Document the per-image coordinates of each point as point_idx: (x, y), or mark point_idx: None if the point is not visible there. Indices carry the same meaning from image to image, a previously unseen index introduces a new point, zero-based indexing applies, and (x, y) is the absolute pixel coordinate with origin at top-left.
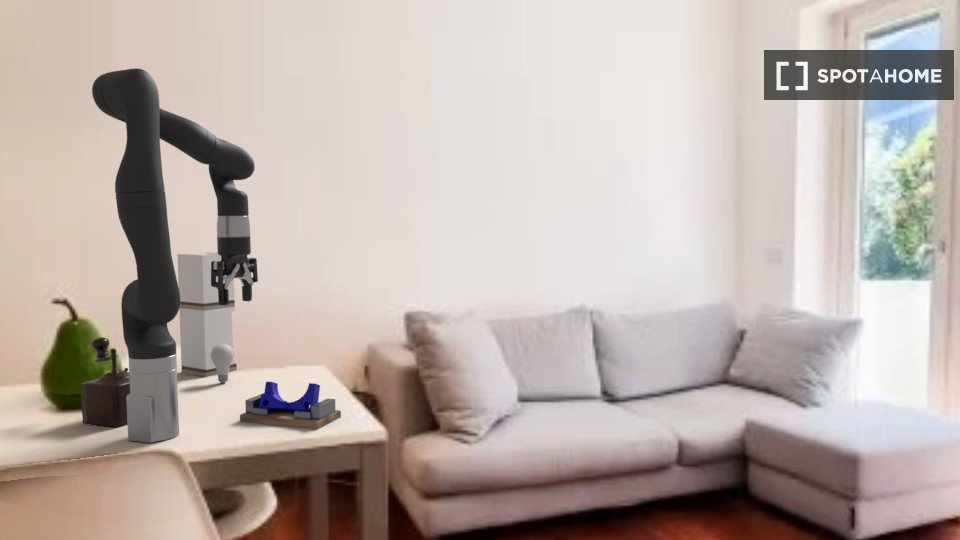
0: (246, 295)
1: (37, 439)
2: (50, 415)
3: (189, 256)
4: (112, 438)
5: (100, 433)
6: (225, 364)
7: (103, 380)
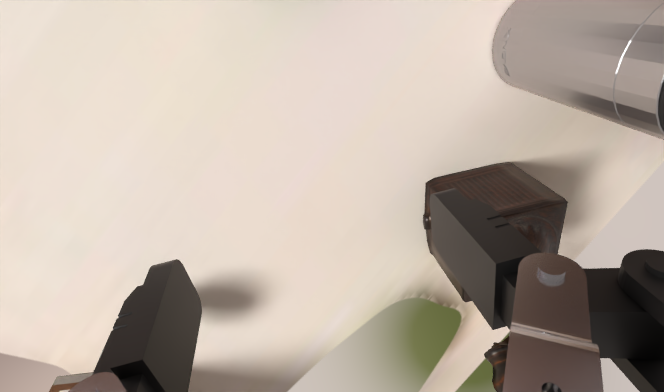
0: (179, 311)
1: (591, 202)
2: None
3: None
4: None
5: (543, 153)
6: None
7: (548, 250)
